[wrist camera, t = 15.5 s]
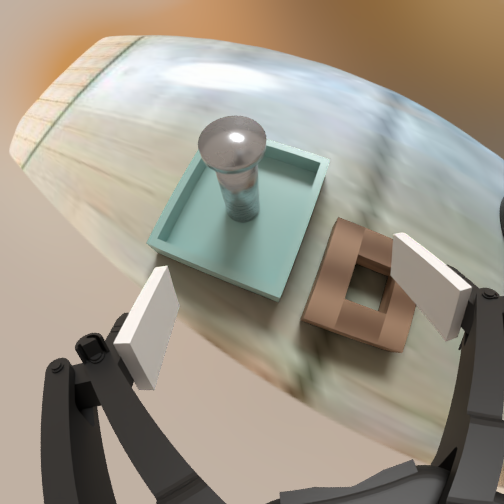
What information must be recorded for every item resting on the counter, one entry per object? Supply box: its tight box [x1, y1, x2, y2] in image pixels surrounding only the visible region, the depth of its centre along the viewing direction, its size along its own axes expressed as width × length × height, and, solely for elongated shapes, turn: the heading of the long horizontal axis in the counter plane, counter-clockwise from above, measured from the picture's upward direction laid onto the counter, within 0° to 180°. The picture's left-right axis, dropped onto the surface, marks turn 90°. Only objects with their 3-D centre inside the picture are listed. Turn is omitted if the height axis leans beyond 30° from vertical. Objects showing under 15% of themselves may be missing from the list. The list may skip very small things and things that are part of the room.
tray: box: [147, 139, 330, 302], centre depth 34 cm, size 18×16×4 cm
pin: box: [198, 116, 266, 223], centre depth 28 cm, size 6×6×13 cm
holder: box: [300, 217, 416, 353], centre depth 30 cm, size 12×12×3 cm
